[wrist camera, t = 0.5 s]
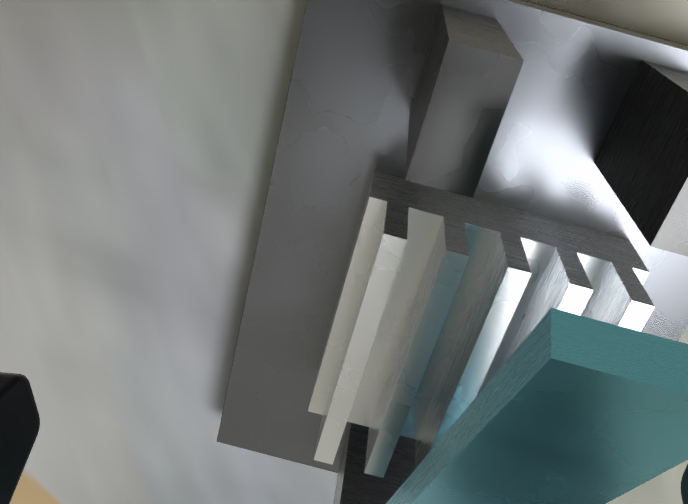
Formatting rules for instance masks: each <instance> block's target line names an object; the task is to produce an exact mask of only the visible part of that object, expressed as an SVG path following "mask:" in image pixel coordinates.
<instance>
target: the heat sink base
mask: <svg viewBox="0 0 688 504" xmlns="http://www.w3.org/2000/svg"><path fill="white" fill-rule="evenodd" d="M551 308H554V309H558V310H562V311H566V312H569V313H573V314H577V315H580V316H584V317H588V318H592V319H595V320H599V321H603V322H607V323H610V324H614V325H618V326H621V327H625V328H629V329H633V330H636V331H640V332H644V333H648V334H651V335H655V336H659V337H663V338H666V339H670V340H674V341H678V340H679V338H680V336H681V335H682V333H683V331H684V330H685V328H686V326H687V325H688V46H686V45H682V44H679V43H675V42H671V41H668V40H664V39H661V38H657V37H653V36H650V35H646V34H643V33H639V32H635V31H632V30H628V29H625V28H621V27H617V26H614V25H610V24H607V23H603V22H600V21H596V20H592V19H589V18H585V17H582V16H578V15H574V14H571V13H567V12H564V11H560V10H556V9H553V8H549V7H546V6H542V5H538V4H535V3H531V2H528V1H524V0H307V3H306V8H305V13H304V18H303V23H302V28H301V33H300V38H299V43H298V47H297V52H296V57H295V62H294V67H293V72H292V77H291V82H290V86H289V91H288V96H287V101H286V106H285V111H284V116H283V121H282V125H281V130H280V135H279V140H278V145H277V150H276V155H275V160H274V165H273V169H272V174H271V179H270V184H269V189H268V194H267V199H266V204H265V208H264V213H263V218H262V223H261V228H260V233H259V238H258V243H257V247H256V252H255V257H254V262H253V267H252V272H251V277H250V282H249V287H248V291H247V296H246V301H245V306H244V311H243V316H242V321H241V326H240V330H239V335H238V340H237V345H236V350H235V355H234V360H233V365H232V369H231V374H230V379H229V384H228V389H227V394H226V399H225V404H224V409H223V413H222V418H221V423H220V428H219V433H218V438H217V442H221V443H225V444H229V445H233V446H237V447H240V448H244V449H248V450H252V451H256V452H260V453H263V454H267V455H271V456H275V457H279V458H283V459H286V460H290V461H294V462H298V463H302V464H306V465H309V466H313V467H317V468H321V469H325V470H329V471H333V472H336V473H338V476H337V483H336V490H335V497H334V503H333V504H386V503H387V502H388V501H389V499H390V498H391V497H392V496H393V495H394V494H395V492H396V491H397V490H398V489H399V488H400V486H401V485H402V484H403V483H404V482H405V481H406V479H407V478H408V477H409V476H410V475H411V473H412V472H413V471H414V470H415V469H416V467H417V466H418V465H419V464H420V463H421V462H422V460H423V459H424V458H425V457H426V456H427V454H428V453H429V452H430V451H431V450H432V449H433V447H434V446H435V445H436V444H437V443H438V441H439V440H440V439H441V438H442V437H443V436H444V434H445V433H446V432H447V431H448V430H449V428H450V427H451V426H452V425H453V424H454V423H455V421H456V420H457V419H458V418H459V417H460V415H461V414H462V413H463V412H464V411H465V409H466V408H467V407H468V406H469V405H470V404H471V402H472V401H473V400H474V399H475V398H476V396H477V395H478V394H479V393H480V392H481V391H482V389H483V388H484V387H485V386H486V385H487V383H488V382H489V381H490V380H491V379H492V378H493V376H494V375H495V374H496V373H497V372H498V370H499V369H500V368H501V367H502V366H503V364H504V363H505V362H506V361H507V360H508V359H509V357H510V356H511V355H512V354H513V353H514V351H515V350H516V349H517V348H518V347H519V346H520V344H521V343H522V342H523V341H524V340H525V338H526V337H527V336H528V335H529V334H530V333H531V331H532V330H533V329H534V328H535V327H536V325H537V324H538V323H539V322H540V321H541V320H542V318H543V317H544V316H545V315H546V314H547V312H548V311H549V310H550V309H551Z"/></svg>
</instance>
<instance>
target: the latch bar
mask: <svg viewBox="0 0 688 504" xmlns="http://www.w3.org/2000/svg"><path fill="white" fill-rule="evenodd" d="M686 460H688V344H685V343H681V342H677V341H674V340H670V339H666V338H663V337H659V336H655V335H651V334H648V333H644V332H640V331H636V330H633V329H629V328H625V327H621V326H618V325H614V324H610V323H607V322H603V321H599V320H595V319H592V318H588V317H584V316H580V315H577V314H573V313H569V312H566V311H562V310H558V309H554V308H551V309H550V310H549V311H548V312H547V314H546V315H545V316H544V317H543V318H542V320H541V321H540V322H539V323H538V324H537V325H536V327H535V328H534V329H533V330H532V331H531V333H530V334H529V335H528V336H527V337H526V338H525V340H524V341H523V342H522V343H521V344H520V346H519V347H518V348H517V349H516V350H515V351H514V353H513V354H512V355H511V356H510V357H509V359H508V360H507V361H506V362H505V363H504V364H503V366H502V367H501V368H500V369H499V370H498V372H497V373H496V374H495V375H494V376H493V378H492V379H491V380H490V381H489V382H488V383H487V385H486V386H485V387H484V388H483V389H482V391H481V392H480V393H479V394H478V395H477V396H476V398H475V399H474V400H473V401H472V402H471V404H470V405H469V406H468V407H467V408H466V409H465V411H464V412H463V413H462V414H461V415H460V417H459V418H458V419H457V420H456V421H455V423H454V424H453V425H452V426H451V427H450V428H449V430H448V431H447V432H446V433H445V434H444V436H443V437H442V438H441V439H440V440H439V441H438V443H437V444H436V445H435V446H434V447H433V449H432V450H431V451H430V452H429V453H428V454H427V456H426V457H425V458H424V459H423V460H422V462H421V463H420V464H419V465H418V466H417V467H416V469H415V470H414V471H413V472H412V473H411V475H410V476H409V477H408V478H407V479H406V481H405V482H404V483H403V484H402V485H401V486H400V488H399V489H398V490H397V491H396V492H395V494H394V495H393V496H392V497H391V498H390V499H389V501H388V502H387V503H386V504H606V503H607V502H609V501H611V500H613V499H615V498H617V497H619V496H621V495H622V494H624V493H626V492H628V491H630V490H632V489H634V488H635V487H637V486H639V485H641V484H643V483H645V482H647V481H649V480H650V479H652V478H654V477H656V476H658V475H660V474H662V473H663V472H665V471H667V470H669V469H671V468H673V467H675V466H676V465H678V464H680V463H682V462H684V461H686Z"/></svg>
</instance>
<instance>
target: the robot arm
mask: <svg viewBox="0 0 688 504" xmlns="http://www.w3.org/2000/svg"><path fill="white" fill-rule="evenodd" d="M39 425H40V418H39V413H38V410H37V406H36V403H35V400H34V396H33V393H32V389H31V386H30V383H29V380H28V379H27V378H26V377H25V376H24V375H21V374H14V373H2V372H0V504H9V503H10V501H11V498H12V496H13V493H14V491H15V489H16V486H17V484H18V481H19V479H20V476H21V474H22V472H23V469H24V467H25V464H26V462H27V459H28V457H29V454H30V452H31V450H32V447H33V445H34V442H35V440H36V437H37V434H38V431H39ZM681 495H682V500H683V504H688V465H687V467H686V469H685V472H684V474H683V477H682V481H681Z"/></svg>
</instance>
